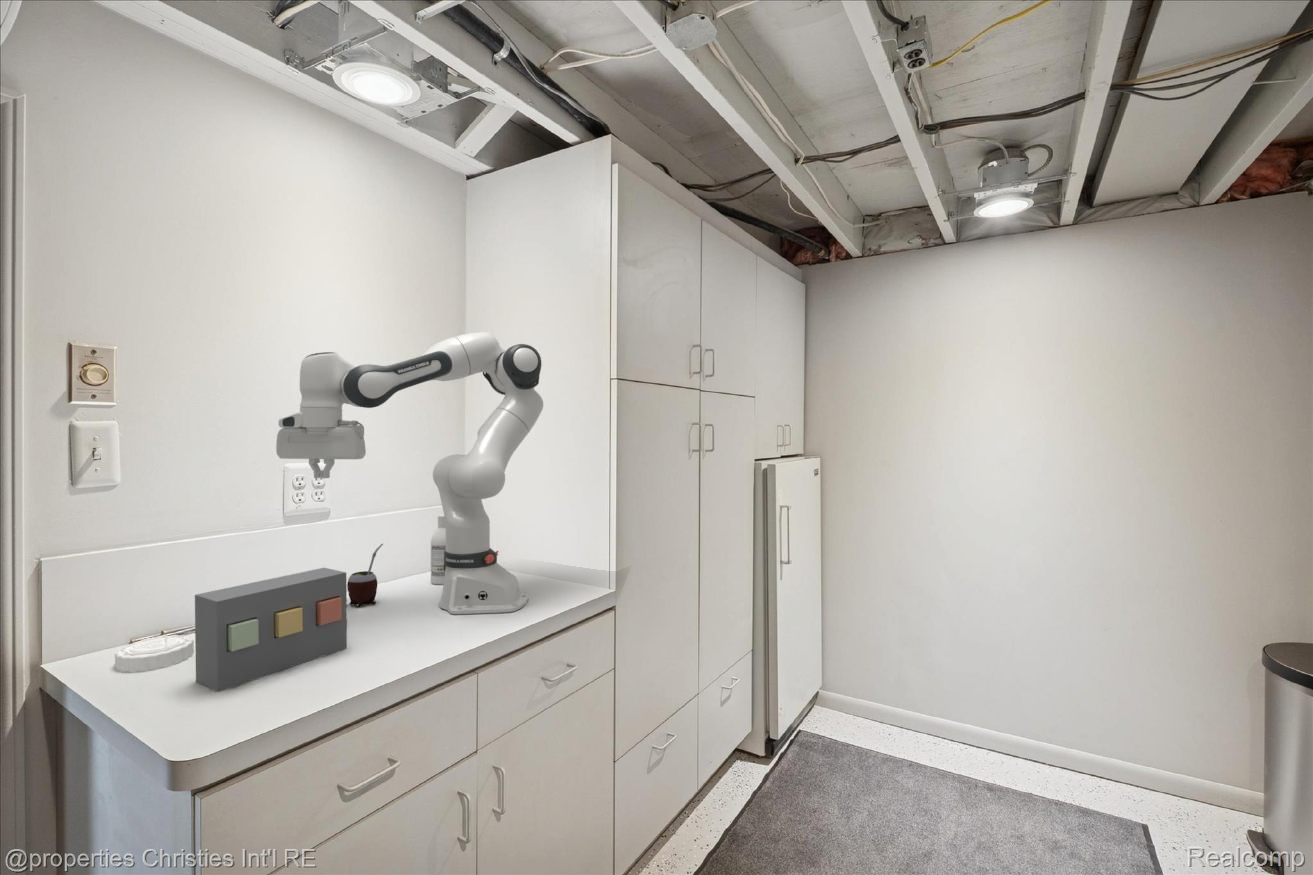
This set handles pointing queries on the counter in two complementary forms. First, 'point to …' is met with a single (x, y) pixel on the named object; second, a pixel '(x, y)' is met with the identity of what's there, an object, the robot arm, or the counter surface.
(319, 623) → the button brick
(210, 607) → the console
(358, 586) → the mate gourd
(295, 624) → the button ochre
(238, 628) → the button sage
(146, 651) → the mooncake
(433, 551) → the bath foam
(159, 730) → the counter surface
